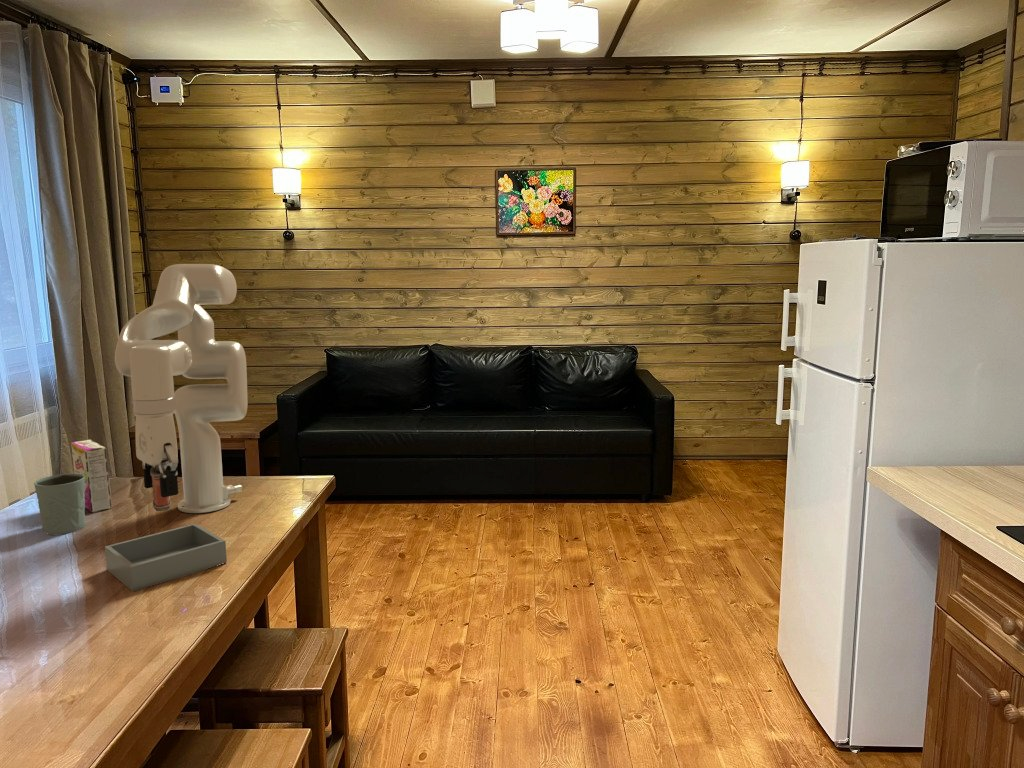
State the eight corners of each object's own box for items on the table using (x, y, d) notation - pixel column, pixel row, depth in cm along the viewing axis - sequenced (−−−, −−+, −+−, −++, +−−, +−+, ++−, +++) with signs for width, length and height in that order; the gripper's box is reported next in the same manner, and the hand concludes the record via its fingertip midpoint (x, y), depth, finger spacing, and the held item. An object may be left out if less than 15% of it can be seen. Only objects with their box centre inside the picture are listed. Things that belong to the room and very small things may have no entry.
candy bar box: (75, 503, 193) (69, 442, 190) (96, 499, 197) (91, 438, 194) (91, 513, 185) (84, 450, 183) (112, 508, 189) (106, 446, 186)
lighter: (172, 509, 149) (168, 461, 147) (153, 512, 147) (149, 463, 146) (170, 498, 156) (166, 452, 154) (152, 500, 154) (148, 454, 153)
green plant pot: (39, 539, 169) (33, 488, 167) (39, 525, 177) (34, 477, 175) (90, 530, 174) (85, 481, 172) (88, 517, 183) (83, 470, 181)
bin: (196, 544, 166) (195, 523, 165) (226, 563, 156) (225, 540, 155) (106, 569, 152) (104, 546, 152) (133, 591, 142) (131, 567, 142)
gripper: (119, 403, 152) (126, 486, 155) (152, 415, 140) (159, 505, 143) (156, 398, 157) (163, 478, 160) (191, 410, 145) (198, 496, 148)
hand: (161, 490), depth 151 cm, fingers closed on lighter, 7 cm apart
